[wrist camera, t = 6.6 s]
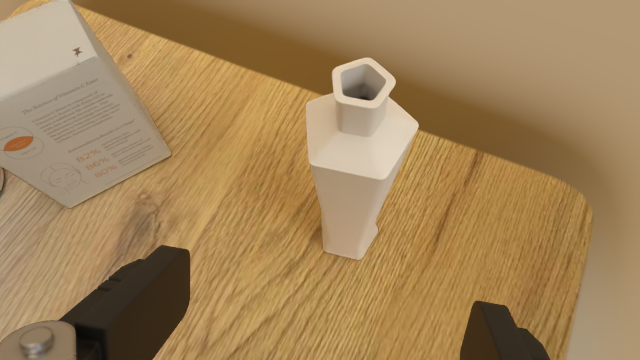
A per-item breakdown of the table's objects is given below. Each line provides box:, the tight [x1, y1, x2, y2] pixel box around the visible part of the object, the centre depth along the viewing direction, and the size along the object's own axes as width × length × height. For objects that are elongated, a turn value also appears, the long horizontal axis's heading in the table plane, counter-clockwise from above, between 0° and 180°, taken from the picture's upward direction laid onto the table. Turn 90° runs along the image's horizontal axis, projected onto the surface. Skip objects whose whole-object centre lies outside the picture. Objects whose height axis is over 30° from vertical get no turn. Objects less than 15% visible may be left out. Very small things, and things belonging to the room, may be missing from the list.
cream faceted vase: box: [306, 58, 418, 260], centre depth 20 cm, size 5×4×15 cm
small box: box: [0, 0, 171, 209], centre depth 25 cm, size 8×6×10 cm
